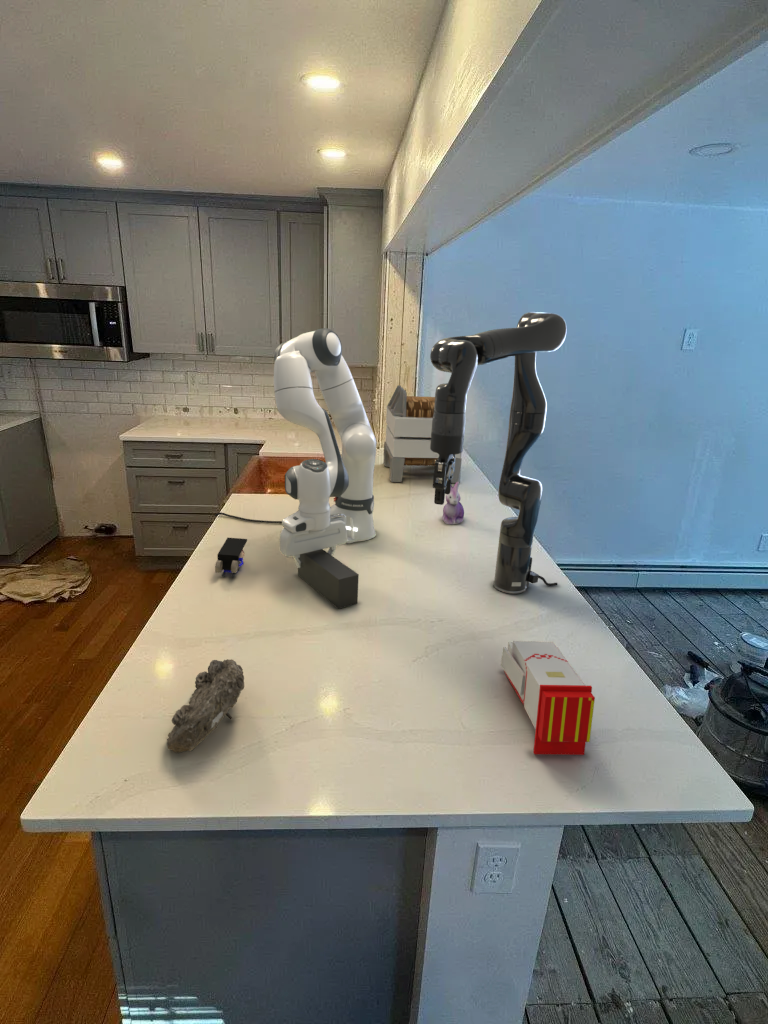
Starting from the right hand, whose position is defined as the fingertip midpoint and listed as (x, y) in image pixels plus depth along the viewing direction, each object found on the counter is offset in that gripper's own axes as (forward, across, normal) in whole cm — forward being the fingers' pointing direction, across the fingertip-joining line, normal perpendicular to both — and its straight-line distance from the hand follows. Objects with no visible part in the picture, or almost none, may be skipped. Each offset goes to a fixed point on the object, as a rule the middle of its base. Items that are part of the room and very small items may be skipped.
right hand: (442, 498), depth 134 cm
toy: (+33, -26, -27) cm, 50 cm away
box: (+33, +6, +32) cm, 46 cm away
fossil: (+33, -50, +33) cm, 68 cm away
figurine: (+33, +74, +7) cm, 81 cm away
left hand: (+28, +11, +37) cm, 48 cm away
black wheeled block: (+33, +8, +62) cm, 71 cm away
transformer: (+33, +134, +33) cm, 142 cm away
